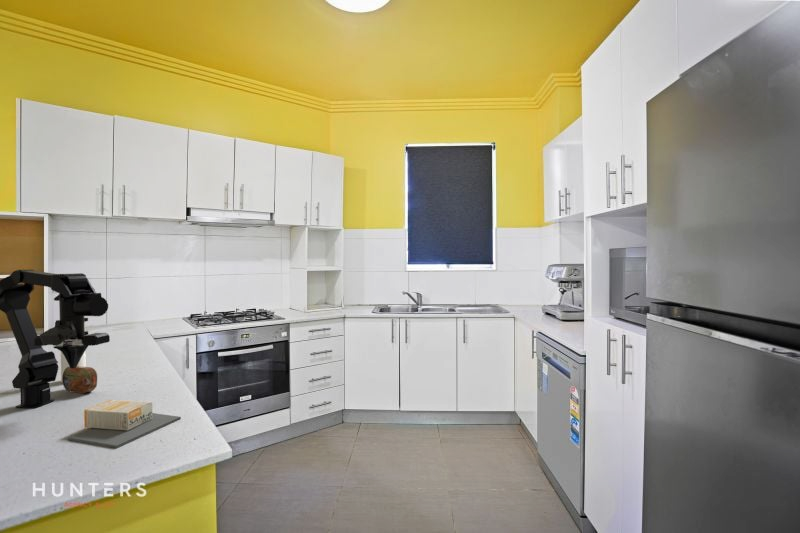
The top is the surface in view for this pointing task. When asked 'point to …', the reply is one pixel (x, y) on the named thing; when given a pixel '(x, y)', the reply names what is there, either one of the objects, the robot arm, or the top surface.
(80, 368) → the tin
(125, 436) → the mat
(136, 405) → the supplement box
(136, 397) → the top surface
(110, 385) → the top surface
